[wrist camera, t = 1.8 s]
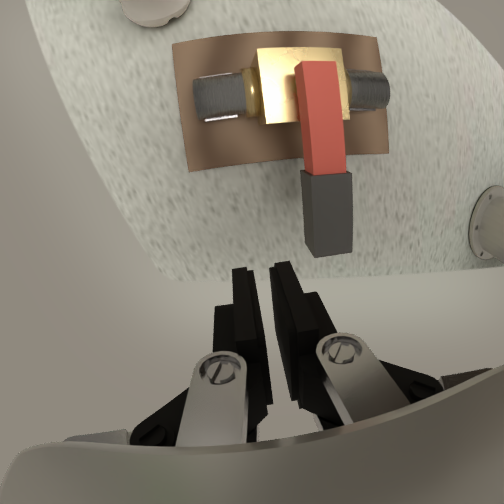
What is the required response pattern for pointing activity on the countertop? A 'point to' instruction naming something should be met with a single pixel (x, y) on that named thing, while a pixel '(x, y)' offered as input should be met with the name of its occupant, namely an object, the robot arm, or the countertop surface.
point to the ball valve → (283, 87)
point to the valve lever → (324, 161)
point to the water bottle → (153, 11)
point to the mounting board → (247, 129)
